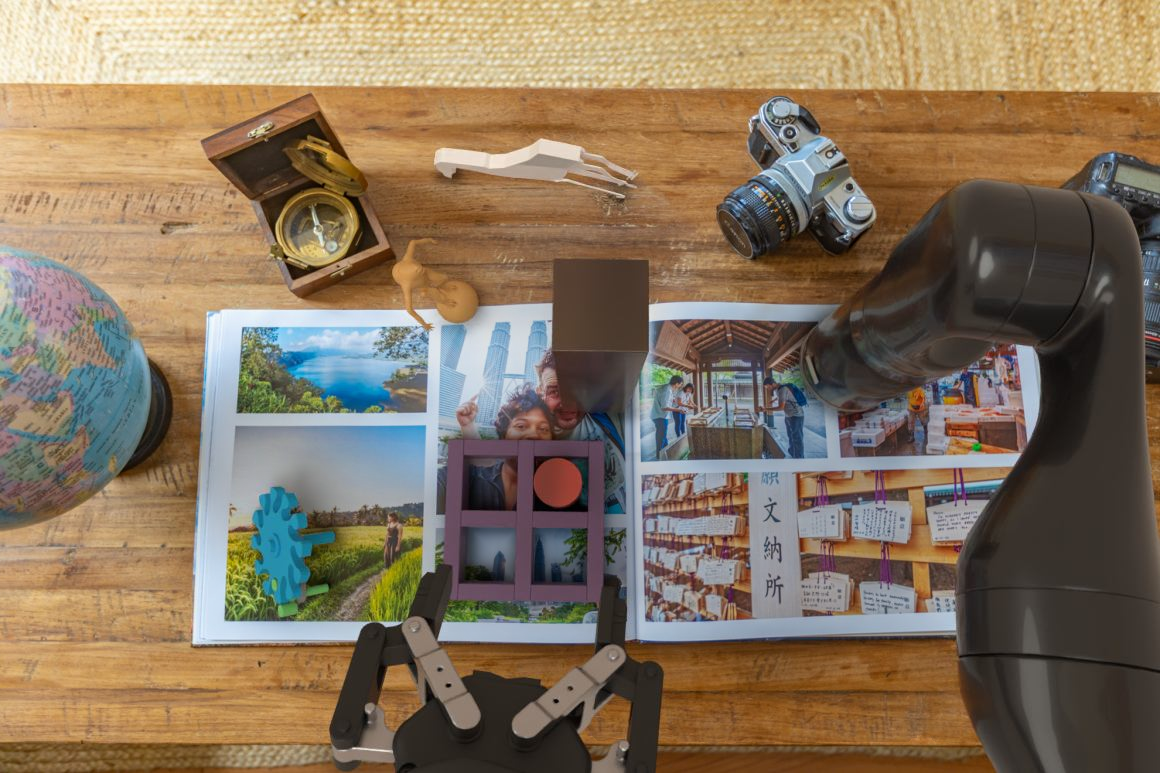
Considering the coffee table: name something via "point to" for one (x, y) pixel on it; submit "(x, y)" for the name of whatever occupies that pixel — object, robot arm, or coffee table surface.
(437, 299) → the figurine
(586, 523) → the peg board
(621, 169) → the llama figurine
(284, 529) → the gear
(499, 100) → the coffee table surface
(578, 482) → the red cylinder
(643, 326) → the stand
